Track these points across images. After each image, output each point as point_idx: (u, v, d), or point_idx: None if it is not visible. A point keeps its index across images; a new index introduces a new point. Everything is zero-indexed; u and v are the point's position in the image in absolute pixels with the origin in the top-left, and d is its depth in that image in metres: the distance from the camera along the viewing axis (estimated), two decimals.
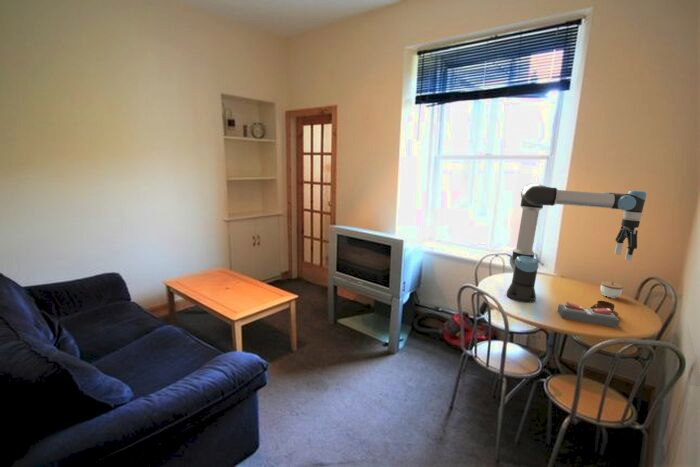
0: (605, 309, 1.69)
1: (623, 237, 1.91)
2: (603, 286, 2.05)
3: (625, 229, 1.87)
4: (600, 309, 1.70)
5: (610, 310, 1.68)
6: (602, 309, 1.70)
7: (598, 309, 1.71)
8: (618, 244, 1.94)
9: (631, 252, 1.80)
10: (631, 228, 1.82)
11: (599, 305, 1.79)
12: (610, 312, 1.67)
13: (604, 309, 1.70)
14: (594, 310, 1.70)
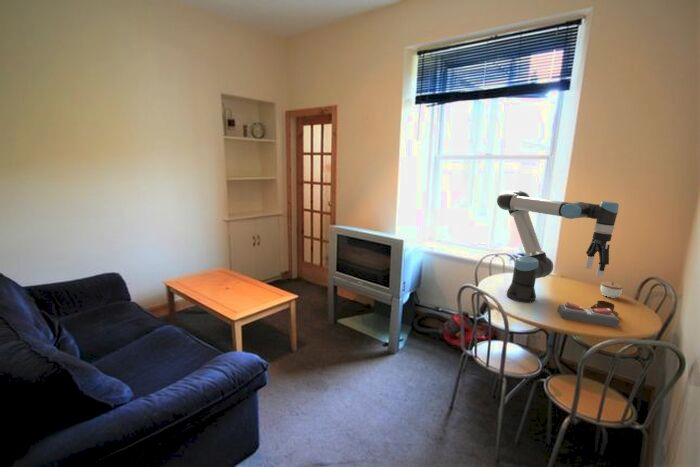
0: (605, 309, 1.69)
1: (594, 251, 1.78)
2: (603, 286, 2.05)
3: (596, 242, 1.74)
4: (600, 309, 1.70)
5: (610, 310, 1.68)
6: (602, 309, 1.70)
7: (598, 309, 1.71)
8: (589, 258, 1.81)
9: (603, 268, 1.67)
10: (603, 242, 1.69)
11: (599, 305, 1.79)
12: (610, 312, 1.67)
13: (604, 309, 1.70)
14: (594, 310, 1.70)
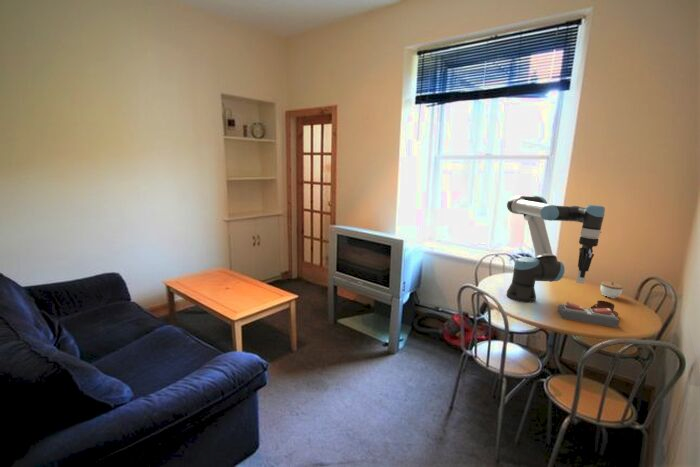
0: (605, 309, 1.69)
1: None
2: (603, 286, 2.05)
3: (583, 244, 1.68)
4: (600, 309, 1.70)
5: (610, 310, 1.68)
6: (602, 309, 1.70)
7: (598, 309, 1.71)
8: None
9: (583, 275, 1.68)
10: (589, 247, 1.63)
11: (599, 305, 1.79)
12: (610, 312, 1.67)
13: (604, 309, 1.70)
14: (594, 310, 1.70)
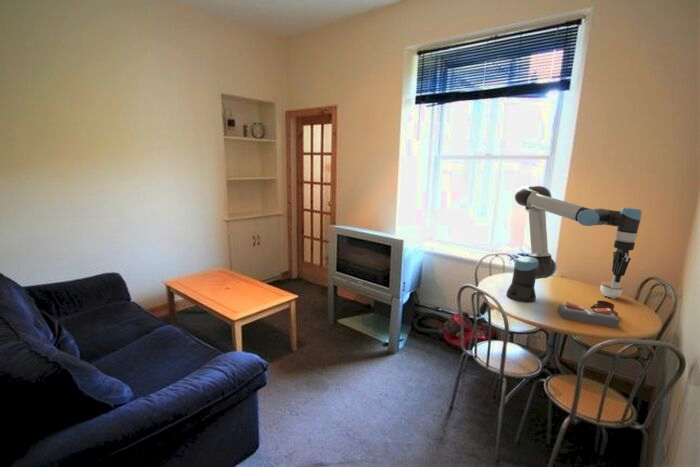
0: (605, 309, 1.69)
1: None
2: (603, 286, 2.05)
3: (618, 248, 1.64)
4: (600, 309, 1.70)
5: (610, 310, 1.68)
6: (602, 309, 1.70)
7: (598, 309, 1.71)
8: None
9: (618, 279, 1.63)
10: (625, 251, 1.59)
11: (599, 305, 1.79)
12: (610, 312, 1.67)
13: (604, 309, 1.70)
14: (594, 310, 1.70)
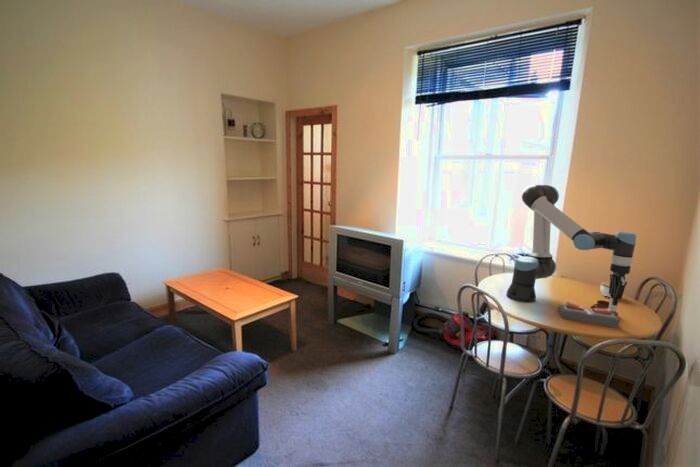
0: (605, 309, 1.69)
1: None
2: (603, 286, 2.05)
3: (615, 272, 1.66)
4: (600, 309, 1.70)
5: (610, 311, 1.68)
6: (602, 309, 1.70)
7: (598, 309, 1.70)
8: None
9: (615, 302, 1.65)
10: (621, 275, 1.61)
11: (599, 305, 1.79)
12: (610, 312, 1.67)
13: (604, 309, 1.70)
14: (594, 309, 1.70)
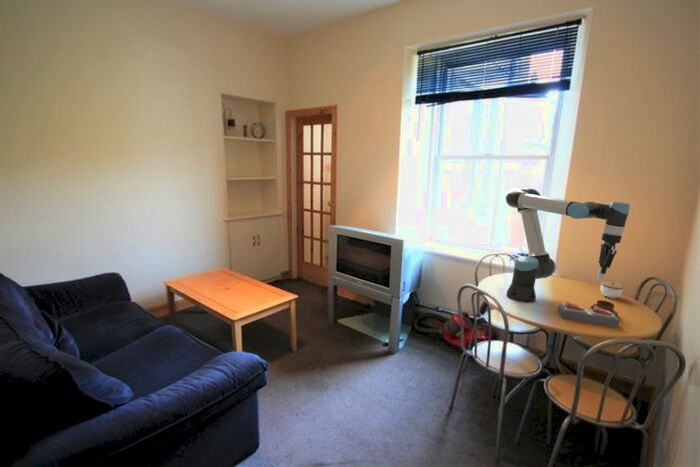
0: (605, 310, 1.69)
1: None
2: (603, 286, 2.05)
3: (606, 241, 1.69)
4: (601, 309, 1.70)
5: (610, 313, 1.68)
6: (603, 309, 1.70)
7: (599, 308, 1.70)
8: None
9: (604, 271, 1.69)
10: (612, 244, 1.64)
11: (599, 305, 1.79)
12: (609, 314, 1.67)
13: (604, 310, 1.70)
14: (595, 307, 1.70)
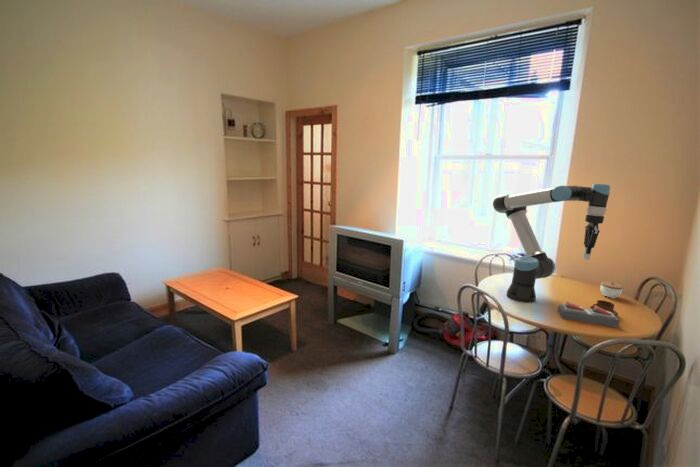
0: (605, 310, 1.69)
1: None
2: (603, 286, 2.05)
3: (589, 222, 1.75)
4: (601, 308, 1.70)
5: (610, 313, 1.68)
6: (603, 309, 1.70)
7: (599, 308, 1.70)
8: None
9: (589, 251, 1.75)
10: (595, 224, 1.70)
11: (599, 305, 1.79)
12: None
13: (604, 310, 1.70)
14: (596, 307, 1.70)
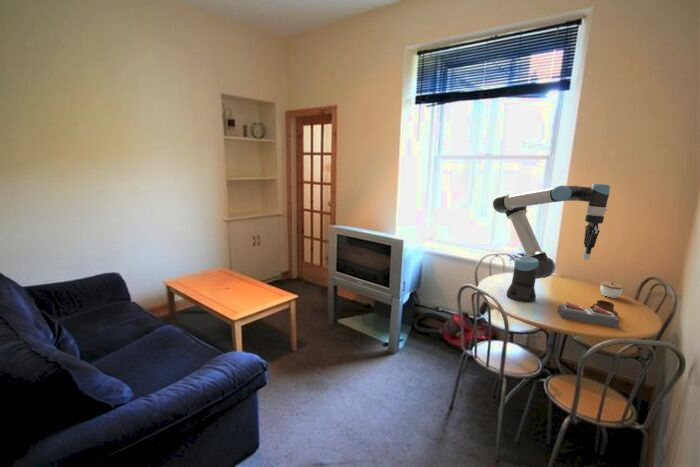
0: (605, 311, 1.69)
1: None
2: (603, 286, 2.05)
3: (589, 222, 1.75)
4: (601, 308, 1.70)
5: (610, 313, 1.68)
6: (603, 309, 1.70)
7: (599, 308, 1.70)
8: None
9: (589, 251, 1.75)
10: (595, 224, 1.70)
11: (599, 305, 1.79)
12: None
13: (604, 310, 1.70)
14: (596, 307, 1.70)
